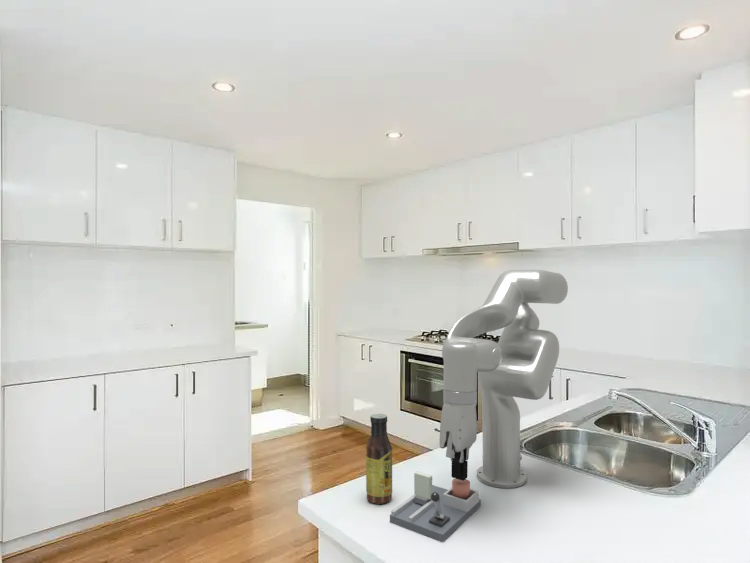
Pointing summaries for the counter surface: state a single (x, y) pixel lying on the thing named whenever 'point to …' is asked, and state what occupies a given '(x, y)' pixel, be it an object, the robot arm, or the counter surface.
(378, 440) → the sauce bottle
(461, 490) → the button
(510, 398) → the robot arm
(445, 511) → the panel
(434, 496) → the toggle
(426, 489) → the pale green block
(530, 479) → the counter surface
